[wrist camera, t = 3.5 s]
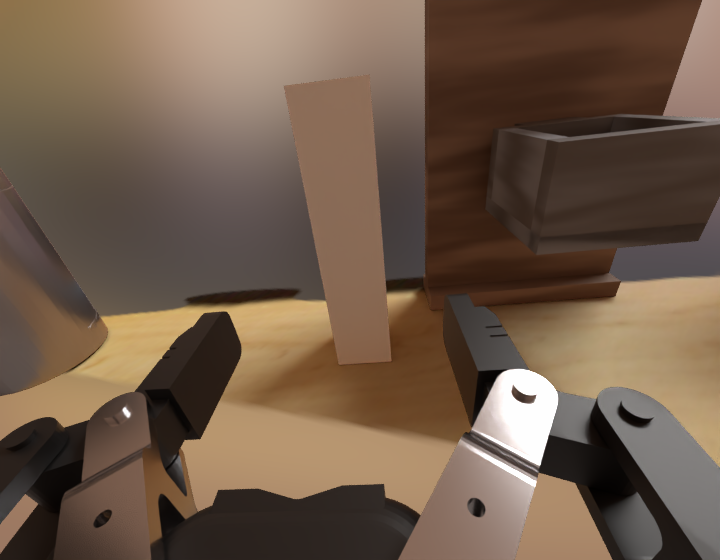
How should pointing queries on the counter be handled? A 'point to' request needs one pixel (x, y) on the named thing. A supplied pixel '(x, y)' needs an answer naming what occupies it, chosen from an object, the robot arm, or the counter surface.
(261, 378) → the counter surface
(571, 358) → the counter surface
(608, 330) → the counter surface
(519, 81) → the cup bracket
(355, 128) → the beige tall block
